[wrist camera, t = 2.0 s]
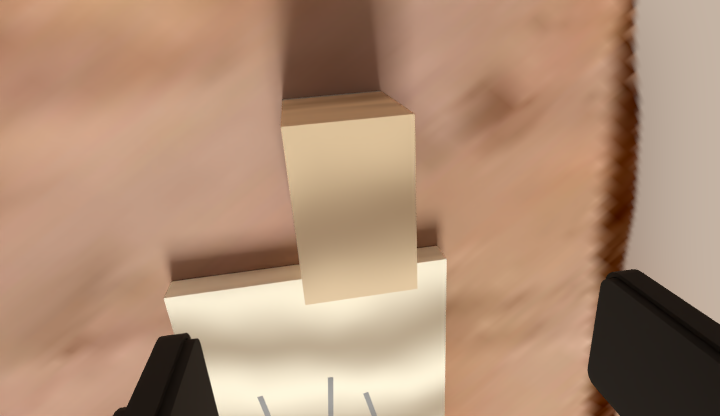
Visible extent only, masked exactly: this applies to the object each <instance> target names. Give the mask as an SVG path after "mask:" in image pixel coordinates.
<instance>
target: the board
mask: <svg viewBox="0 0 720 416" xmlns="http://www.w3.org/2000/svg"><path fill="white" fill-rule="evenodd" d="M446 267H447V259H446V257H445V256H444V255H443V253H442V252H441V250H440V249H439V247H438V246H431V247H424V248H417V288H418V289H412V290H406V291H399V292H392V293H385V294H378V295H371V296H364V297H358V298H351V299H344V300H337V301H330V302H323V303H316V304H310V305H305V299H304V292H303V285H302V277H301V270H300V264H298V265H290V266H283V267H276V268H268V269H261V270H253V271H246V272H239V273H231V274H224V275H216V276H209V277H202V278H194V279H187V280H179V281H172V282H171V284H170V286H169V288H168V290H167V292H166V295H165V297H164V301H165V304H166V308H167V311H168V315H169V318H170V321H171V325H172V328H173V332H174V335H175V334H182V333H188V334H189V335H190V337H191V339H195V338H198V339H199V340H200V343H201V347H202V351H203V355H204V359H205V363H206V367H207V371H208V374H209V378H210V382H211V386H212V390H213V394H214V398H215V402H216V406H217V410H218V414H219V416H445V342H446Z"/></svg>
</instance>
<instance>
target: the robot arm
mask: <svg viewBox="0 0 720 416" xmlns="http://www.w3.org/2000/svg"><path fill="white" fill-rule="evenodd" d="M588 375H589V378H590V380H591V382H592V384H593V385H594V386H595V387H596V389H597V390H598V391H599V392H600V393H601V394H602V395H603V397H604V398H605V399H606V400H607V401H608V402H609V404H610V405H611V406H612V407H613V408H614V409H615V410H616V412H617V413H618V414H619V415H620V416H720V324H718V323H717V322H715V321H714V320H712V319H711V318H709V317H708V316H706V315H705V314H703V313H702V312H700V311H699V310H697V309H696V308H694V307H693V306H691V305H690V304H688V303H687V302H685V301H684V300H683V299H681V298H680V297H678V296H677V295H675V294H673V293H672V292H671V291H669V290H668V289H666V288H664V287H663V286H662V285H660V284H659V283H657V282H656V281H654V280H653V279H651V278H650V277H648V276H647V275H645V274H644V273H642V272H640V271H639V270H635V269H634V270H633V269H631V270H624V271H617V272H612V273H609V274H608V275H607V277H606V279H605V280H603V281H602V283H601V286H600V292H599V299H598V305H597V312H596V318H595V324H594V331H593V337H592V344H591V350H590V357H589V363H588ZM113 416H219V414H218V410H217V406H216V402H215V398H214V394H213V390H212V386H211V382H210V378H209V374H208V371H207V367H206V363H205V359H204V355H203V351H202V347H201V343H200V340H199V339H198V338H195V339H191V337H190V335H189V334H188V333H182V334H175V335H168V336H161V337H159V338H158V340H157V342H156V344H155V346H154V348H153V350H152V353H151V355H150V357H149V359H148V361H147V364H146V366H145V368H144V370H143V372H142V375H141V377H140V379H139V381H138V383H137V386H136V388H135V390H134V392H133V394H132V397H131V399H130V401H129V403H128V405H127V407H123V408H119V409H118V410H117V411H115V413H114V415H113Z"/></svg>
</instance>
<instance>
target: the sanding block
mask: <svg viewBox="0 0 720 416" xmlns="http://www.w3.org/2000/svg"><path fill="white" fill-rule="evenodd" d="M281 133H282V140H283V147H284V154H285V162H286V169H287V176H288V183H289V191H290V198H291V205H292V212H293V220H294V227H295V234H296V241H297V249H298V256H299V263H300V270H301V277H302V285H303V292H304V299H305V305H310V304H316V303H323V302H330V301H337V300H344V299H351V298H358V297H364V296H371V295H378V294H385V293H392V292H399V291H406V290H412V289H418V288H417V225H416V162H415V114H414V113H413V112H411V111H410V110H408V109H407V108H405V107H404V106H402V105H401V104H399V103H398V102H396V101H395V100H393V99H392V98H391V97H389V96H388V95H386V94H385V93H383V92H382V91H370V92H359V93H348V94H336V95H325V96H314V97H303V98H292V99H282V114H281Z"/></svg>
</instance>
